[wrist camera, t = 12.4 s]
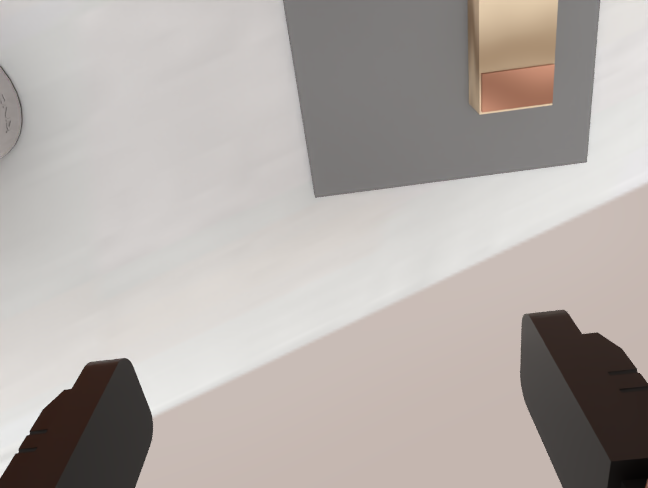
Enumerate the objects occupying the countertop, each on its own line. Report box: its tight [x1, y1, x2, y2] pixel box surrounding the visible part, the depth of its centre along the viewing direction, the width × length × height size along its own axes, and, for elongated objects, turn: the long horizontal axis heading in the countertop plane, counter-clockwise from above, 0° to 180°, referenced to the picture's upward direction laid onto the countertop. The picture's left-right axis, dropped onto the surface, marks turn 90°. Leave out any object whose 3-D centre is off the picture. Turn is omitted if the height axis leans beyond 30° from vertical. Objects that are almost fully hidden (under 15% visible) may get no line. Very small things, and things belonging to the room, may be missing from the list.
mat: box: [283, 0, 600, 198], centre depth 38 cm, size 20×14×1 cm
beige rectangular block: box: [468, 0, 558, 115], centre depth 35 cm, size 8×5×3 cm, turn 8°
